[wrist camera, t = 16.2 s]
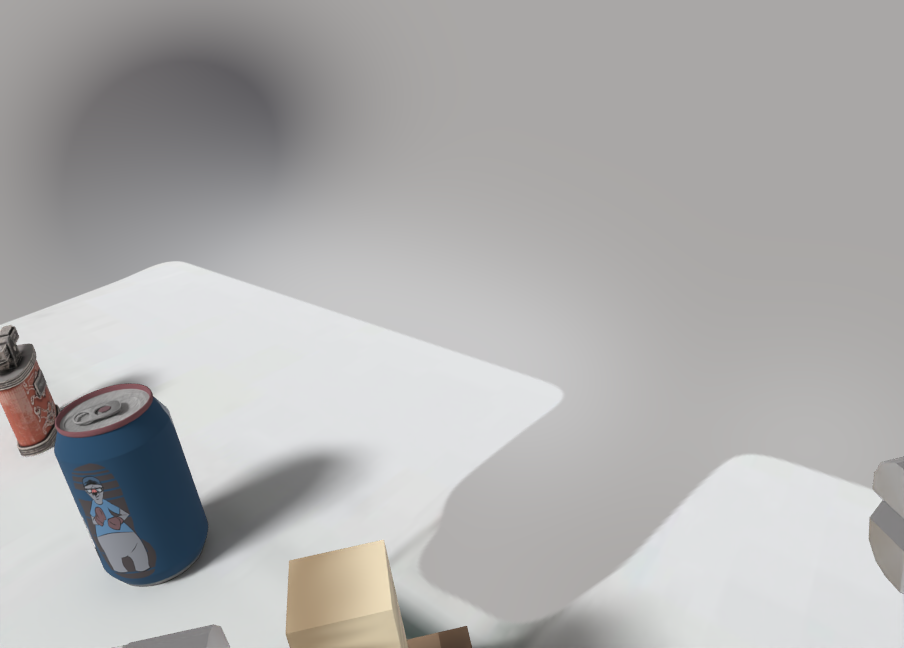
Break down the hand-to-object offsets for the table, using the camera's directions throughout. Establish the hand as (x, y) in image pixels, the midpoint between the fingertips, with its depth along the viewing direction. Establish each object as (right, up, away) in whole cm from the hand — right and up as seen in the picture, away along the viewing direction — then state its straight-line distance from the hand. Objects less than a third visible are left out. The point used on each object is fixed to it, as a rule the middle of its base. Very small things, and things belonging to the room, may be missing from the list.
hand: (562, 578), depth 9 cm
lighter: (-39, -7, +61) cm, 73 cm away
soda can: (-21, -13, +43) cm, 49 cm away
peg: (-4, -18, +26) cm, 32 cm away
